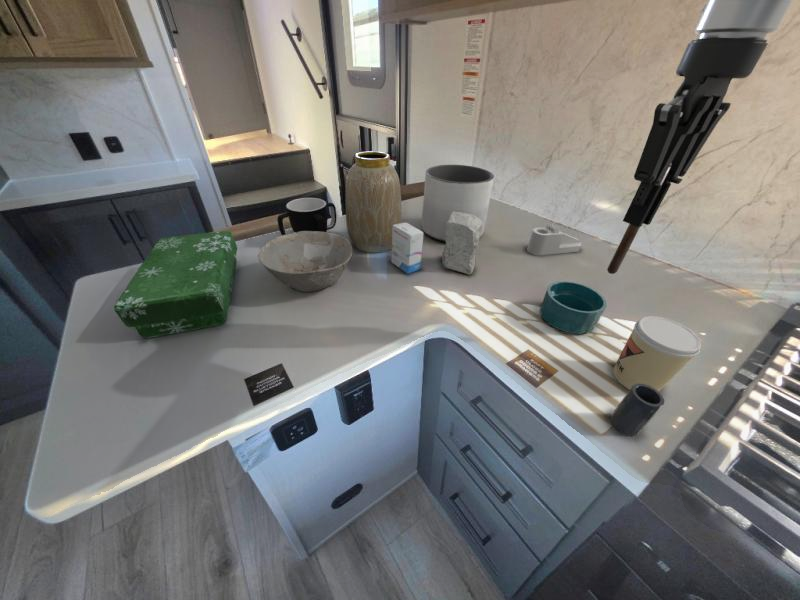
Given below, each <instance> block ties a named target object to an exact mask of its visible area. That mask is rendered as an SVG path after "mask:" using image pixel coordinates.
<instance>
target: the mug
mask: <svg viewBox="0 0 800 600" xmlns="http://www.w3.org/2000/svg"><path fill="white" fill-rule="evenodd" d="M285 208H286V212H284V213H281V214H278V216H277V226H278V230H279V233H280V236H282V235H286V234H287V232H286V229H285V223H284V219H286V218H288V221H289V224H290V226H291V229H292V233H294V232H296V233H297V232H300V231H319V232H328V231H331V230H332V229H334V228H335V226H336V224H337V209H336V205H335V203H333V202H327V201H325V200H324V199H321V198H318V197H301V198H300V197H299V198H296V199H292V200H290V201H289V202H287V203H286V205H285ZM328 208H330V216H331V217H330V223H328ZM297 234H298V233H297Z"/></svg>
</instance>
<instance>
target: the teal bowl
mask: <svg viewBox="0 0 800 600" xmlns="http://www.w3.org/2000/svg"><path fill="white" fill-rule="evenodd" d="M606 308H607V300H606V299H605V297H604V296H603V295H602V294H601V293H600V292H599V291H597V290H596V289H594V288H592V287H590V286H589V285H585V284H583V283H579V282H575V281H569V280H560V281H559V280H558V281H554V282H551V283H550V284H549V285H548V286H547V289H546V291H545V294H544V296H543V299H542V302H541V304H540V307H539V312H540V315H541V317H542V319H544V321H545V322H547V323H548V324H549V325H551V326H552V327H554V328H556V329H558V330H560V331H563V332H567V333H570V334H576V335H577V334H578V335H580V334H589V333H590V332H591V333H592V331H594V330H595V328H596V327H597V325H598V324H599V322H600V319H602V316H603V314H604V312H605V310H606Z"/></svg>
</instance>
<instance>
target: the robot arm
mask: <svg viewBox="0 0 800 600" xmlns="http://www.w3.org/2000/svg"><path fill="white" fill-rule="evenodd" d="M793 1H794V0H707V2H706V4H704V5H703V7H702V9H701V13H702V14H701V15H700V18H699V20H698V23H697V25H696V27H695V29H694V34H695V35H698V36H697V38H696V39H692V40H691V41H690V42H689V43H688V44H687V46H686V48H685V50H684V53H683V55H682V57H681V59H680V62H679V64H678V66H677V68H676V71H675V74H676V76H677V77H684V78H683V81H682V82H681V84H680V86H679V87H678V89H676V92H675V93H674V96H673V98H672V100H670V101H669V102H668V103H664V102H663V103H662V102H660V103H658V104H657V105H656V107H655V109H654V114H653V120H652V124H651V128H650V130H649V134H648V137H647V139H646V141H645V144H644V148H643V150H642V151H641V152H642V153H641V155H640V158H639V160H638V163H637V167H636V168H635V172H634V174H633V178H634V180H635V181H638V182H640V183H639V185H638V188H637V189H636V192H635V194H634V196H633V198H632V200H631V203H630V204H629V206H628V209H627V211H626V213H625V214H624V217H623V219H622V222H624V223H626V224H628V225H629V224H632V225H634V226H637V227H640V228H641V227H642V226H643V225H646V226H649V225H650V224H651V223H652V222H653V219H654V218H655V216H656V214H657V211H658V210H659V208H660V207H661V204H662V202H663V201H664V198H665V197H666V195H667V193H668V191H669V189H670V188H671V185H672V184H675V185H676V184H677V185H679V184H680V183H682V181H683V180H684V179H683V177H684V176H685V175H686V174H687V172H688V171H689V169H690V168H691V166H692V164H693V163H694V161H695V160H696V158H697V157H698V155H699V153H700V151H701V150H702V149H703V147H704V146H705V144H706V142H707V141H708V139H709V137H710V136H711V134H712V133H713V131H714V129H715V128H716V127H717V125H718V124H719V122H720V121H721V119H722V118H723V117H724V116H725V114H726V113H727V112H728V111H729V109H730V107H731V105H732V103H731V102H724V98H725V97H726V95H727V94H728V93H727V92H728V90H729V87H730V84H731V81H732V80H733V79H739V80H740V79H745V78H747V77H749V76H750V75H751V74H752V73H753V71H754V69H755V67H756V66H757V64H758V62H759V60H760V59H761V57H762V55H763V54H764V51H765V50H766V48H767V46H768V45H769V43H768V39H765V38H766V36H767V35H768V34H773V33H774V32H775V31H777V30H778V28H779V26H780V24H781V22H782V21H783V19H784V17H785V15H786V13H787V12H788V10H789V9H790V6H791V4H792V3H793ZM671 163H672V166H671V168H670V170H669V172H668V174H667V176H666V178H665V180H664V182H663V184H662V185H659V183H660V182H661V180H662V178H663V177H664V175H665V173H666V171H667V169H668V168H669V166H670V164H671Z"/></svg>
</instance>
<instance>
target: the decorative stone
mask: <svg viewBox="0 0 800 600" xmlns="http://www.w3.org/2000/svg"><path fill="white" fill-rule="evenodd" d="M482 226H483V223H482V222H481V219H480V218H477V217H476V216H475V215H471V214H466V213H460V212H454V211H453V212H452V214H451V215H450V218H449V220H448V221H447V223H446V237H447V238H446V240H445V241H446V242H445V245H444V247H443V251H442V256H441V260H442V265H443V267H444V269H449V270H453V271H456V272H459V273H462V274H466V275H469V276H470V275H472V273H473V272H474V270H475V266H476V251H477V249H478V246H479V241H480V239H481V237H480V234H481V231H482Z"/></svg>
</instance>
